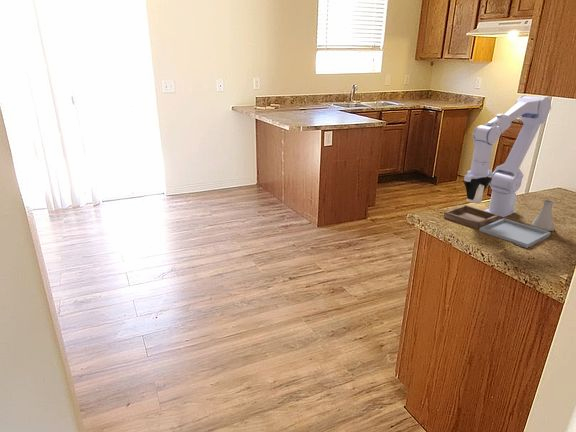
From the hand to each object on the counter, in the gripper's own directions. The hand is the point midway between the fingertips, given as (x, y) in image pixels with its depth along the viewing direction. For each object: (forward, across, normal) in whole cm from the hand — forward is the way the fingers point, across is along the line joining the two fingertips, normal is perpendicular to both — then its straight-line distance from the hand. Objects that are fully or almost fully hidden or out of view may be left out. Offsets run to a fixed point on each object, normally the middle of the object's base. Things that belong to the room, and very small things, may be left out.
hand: (474, 197), depth 149 cm
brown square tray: (+9, 0, 0) cm, 9 cm away
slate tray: (+9, 0, +16) cm, 18 cm away
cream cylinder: (+1, 0, 0) cm, 1 cm away
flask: (+9, -14, +19) cm, 25 cm away
